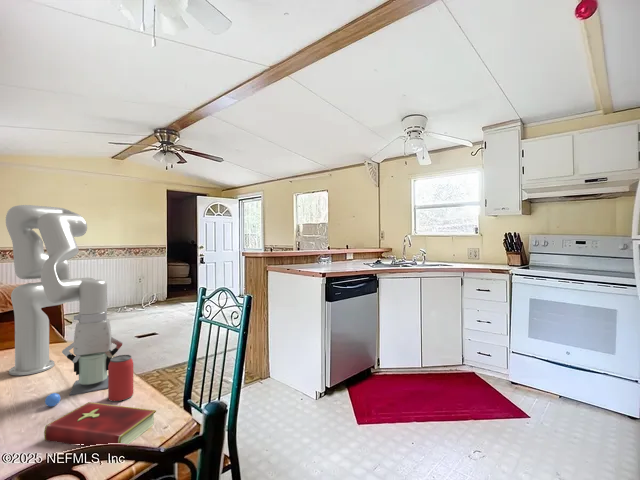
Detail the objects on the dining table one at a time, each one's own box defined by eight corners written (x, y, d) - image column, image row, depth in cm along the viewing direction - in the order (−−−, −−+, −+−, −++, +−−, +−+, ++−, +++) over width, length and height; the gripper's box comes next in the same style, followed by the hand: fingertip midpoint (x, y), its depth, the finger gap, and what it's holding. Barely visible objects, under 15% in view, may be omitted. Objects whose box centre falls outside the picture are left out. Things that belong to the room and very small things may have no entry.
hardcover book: (119, 454, 75) (119, 436, 75) (44, 442, 79) (44, 425, 79) (156, 425, 87) (156, 409, 87) (88, 416, 91) (88, 401, 91)
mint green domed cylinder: (81, 377, 111) (81, 351, 111) (108, 372, 114) (108, 348, 114) (77, 386, 104) (77, 359, 104) (105, 381, 108) (105, 355, 108)
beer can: (121, 403, 97) (121, 362, 97) (102, 401, 98) (102, 360, 98) (138, 393, 103) (138, 354, 103) (120, 391, 105) (120, 353, 105)
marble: (46, 404, 96) (46, 392, 96) (61, 401, 98) (61, 389, 98) (43, 410, 93) (43, 397, 93) (59, 407, 95) (59, 394, 95)
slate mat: (75, 381, 112) (75, 380, 112) (114, 375, 117) (114, 374, 117) (69, 395, 102) (69, 394, 102) (111, 388, 107) (111, 386, 107)
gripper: (57, 323, 102) (57, 380, 102) (123, 317, 110) (123, 370, 110) (62, 318, 108) (62, 372, 108) (124, 312, 117) (124, 362, 117)
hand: (93, 370), depth 109 cm, fingers closed on mint green domed cylinder, 7 cm apart
